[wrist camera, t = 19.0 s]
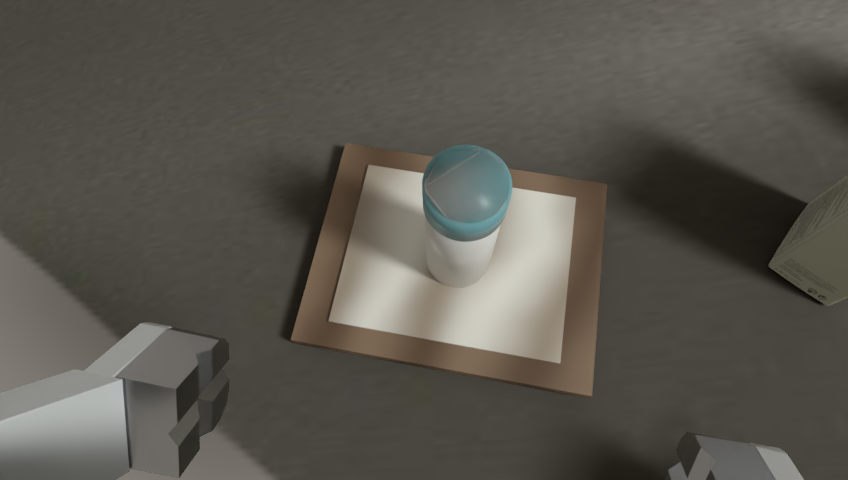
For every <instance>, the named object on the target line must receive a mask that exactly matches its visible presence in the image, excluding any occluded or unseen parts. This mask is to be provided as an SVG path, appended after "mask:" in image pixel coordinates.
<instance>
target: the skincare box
mask: <svg viewBox="0 0 848 480" xmlns="http://www.w3.org/2000/svg"><path fill="white" fill-rule="evenodd" d="M768 266H769V268H771V269H772V270H774V271H775V272H777V273H778V274H779V275H781V276H782V277H784V278H785V279H787V280H788V281H789V282H791V283H792V284H794V285H795V286H797V287H798V288H800V289H801V290H803V291H804V292H806V293H807V294H809V295H810V296H812V297H814V298H815V299H817V300H818V301H820V302H822V303H823V304H825V305H827V306H829V305H832V304H834V303H836V302H838V301H840V300H843V299H845V298H847V297H848V175H847V176H846V177H845V178H843V179H842V180H840V181H839V182H838V183H836V184H835V185H834V186H832V187H831V188H830V189H828V190H827V191H825V192H824V193H823V194H821V195H820V196H818V197H817V198H816V199H814V200H813V201H812V202H810V203H809V204H808V205H807V206H806V207H805V209H804V210H803V211H802V213H801V214H800V216H799V217H798V218H797V220H796V221H795V223H794V224H793V226H792V227H791V229H790V230H789V232H788V234H787V235H786V237H785V238H784V240H783V241H782V243H781V245H780V246H779V248H778V249H777V251H776V253H775V254H774V256H773V258H772V260H771V261H770V263H769V265H768Z"/></svg>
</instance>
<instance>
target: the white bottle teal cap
mask: <svg viewBox="0 0 848 480" xmlns="http://www.w3.org/2000/svg"><path fill="white" fill-rule="evenodd" d="M511 194H512V178H511V174H510V172H509V170H508V168H507V166H506V165H505V163H504V162H503V161H502V160H501V159H500V158H499V157H498V156H497V155H496V154H494V153H493V152H491V151H489V150H487V149H485V148H482V147H479V146H474V145H459V146H454V147H450V148H448V149H445V150H444V151H442V152H440V153H439V154H437V155H436V156H435V157H434V158H433V159H432V160H431V161H430V162H429V164H428V165H427V167H426V169H425V171H424V175H423V179H422V196H423V210H424V214H425V230H426V261H427V266H428V269H429V271H430V272H431V274H432V275H433V277H434V278H435V279H436V280H438V281H439V282H440V283H442V284H444V285H446V286H449V287H454V288H463V287H468V286H471V285H473V284H475V283H477V282H478V281H479V280H480V279H481V278H482V277H483V276H484V275H485V273H486V271H487V269H488V267H489V263H490V260H491V256H492V253H493V249H494V246H495V242H496V239H497V235H498V232H499V228H500V225H501V223H502V221H503V220H504V217H505V215H506V211H507V208H508V205H509V201H510V198H511Z"/></svg>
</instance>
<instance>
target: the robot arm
mask: <svg viewBox="0 0 848 480" xmlns="http://www.w3.org/2000/svg"><path fill="white" fill-rule="evenodd" d="M228 360H229V343H228V342H227V341H226V340H225V339H224V338H220V337H215V336H211V335H207V334H202V333H198V332H193V331H189V330H184V329H180V328H175V327H173V328H172V327H170V326H166V325H161V324H156V323H151V322H145V323H140V324H139V325H138V326H137V327H135V328H134V329H133V330H132V331H131V332H129V333H128V334H127V335H126V336H125V337H123V338H122V339H121V340H120V341H119V342H117V343H116V344H115V345H114V346H113V347H111V348H110V349H109V350H108V351H107V352H106V353H104V354H103V355H102V356H101V357H99V358H98V359H97V360H96V361H95V362H94V363H92V364H91V365H90V366H89V367H88V368H86V369H85V370H84V371H81V370H76V369H74V370H71V371H68V372H64V373H61V374H58V375H55V376H52V377H49V378H46V379H42V380H39V381H36V382H33V383H30V384H26V385H23V386H20V387H17V388H14V389H10V390H7V391H4V392H1V393H0V480H116V479H118V478H119V477H121V476H123V475H124V474H126V473H128V472H129V469H134V470H139V471H145V472H150V473H155V474H161V475H166V476H171V477H176V478H179V477H180V476H181V475H182V473H183V472H184V470H185V469H186V468H187V466H188V465H189V463H190V462H191V460H192V459H193V458H194V456H195V455H196V454H197V452H198V451H199V449H200V444H199V443H200V442H199V437H201V436H203V435H205V434H207V433H209V432H212V431H213V429H214V428H215V426H216V425H217V423H218V422H219V420H220V419H221V416H222V414H223V411H224V409H225V406H226V403H227V398H228V392H229V379H228V377H227V376H226V374H225V373H224V371H223V370H222V368H223V366H224V365H225V364H226V363H227V361H228ZM676 451H677V454H678V456H679V459H680V461H681V462H680V463H678V464H677V465H675V466H673V467H672V468H670V469H669V470H668V471H667V474H666V477H665V479H664V480H804V479H803V478H802V476H801V475H800V473H799V472H798V470H797V468H796V467H795V465H794V464H793V462H792V461H791V459H790V458H789V456H788V455H787V454H786V453H785V452H784V451H782V450H781V449H780V448H776V447H770V446H764V445H758V444H752V443H742V442H737V441H731V440H726V439H721V438H716V437H711V436H706V435H700V434H695V433H690V432H686V433H685V435H684V436H683V437H682V438H681V440H680V442H679V444H678V447H677V449H676Z"/></svg>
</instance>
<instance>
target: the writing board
mask: <svg viewBox="0 0 848 480" xmlns="http://www.w3.org/2000/svg"><path fill="white" fill-rule="evenodd" d="M433 158H434V157H431V156H425V155H419V154H412V153H406V152H399V151H393V150H386V149H380V148H374V147H367V146H361V145H354V144H348V143H345V147H344V150H343V154H342V158H341V161H340V165H339V168H338V172H337V176H336V179H335V183H334V186H333V190H332V193H331V197H330V201H329V204H328V208H327V211H326V215H325V219H324V222H323V226H322V229H321V233H320V236H319V240H318V244H317V247H316V251H315V254H314V258H313V261H312V265H311V269H310V272H309V276H308V279H307V283H306V287H305V290H304V294H303V297H302V301H301V304H300V308H299V312H298V315H297V319H296V322H295V326H294V329H293V333H292V337H291V341H292V342H293V343H295V344H300V345H305V346H311V347H316V348H321V349H327V350H332V351H337V352H343V353H348V354H353V355H359V356H364V357H369V358H375V359H380V360H385V361H391V362H396V363H401V364H407V365H412V366H417V367H423V368H428V369H433V370H439V371H444V372H449V373H455V374H460V375H465V376H471V377H476V378H481V379H487V380H492V381H497V382H503V383H508V384H513V385H519V386H524V387H529V388H535V389H540V390H545V391H551V392H556V393H561V394H567V395H572V396H577V397H583V398H589V397H592V389H593V375H594V361H595V348H596V334H597V320H598V306H599V292H600V278H601V264H602V250H603V237H604V223H605V209H606V195H607V184H604V183H598V182H592V181H585V180H579V179H572V178H566V177H560V176H553V175H547V174H540V173H534V172H528V171H521V170H515V169H508V170H509V172H510V174H511V178H512V194H511V198H510V201H509V205H508V208H507V211H506V215H505V217H504V220H503V221H502V223H501V225H500V228H499V232H498V235H497V239H496V242H495V246H494V249H493V253H492V256H491V260H490V263H489V267H488V269H487V271H486V273H485V275H484V276H483V277H482V278H481V279H480V280H479V281H478V282H477V283H475V284H473V285H471V286H468V287H463V288H454V287H449V286H446V285H444V284H442V283H440V282H439V281H438V280H436V279H435V278H434V277H433V275H432V274H431V272H430V271H429V269H428V266H427V261H426V230H425V214H424V210H423V196H422V179H423V175H424V171H425V169H426V167H427V165H428V164H429V162H430V161H431V160H432V159H433Z"/></svg>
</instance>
